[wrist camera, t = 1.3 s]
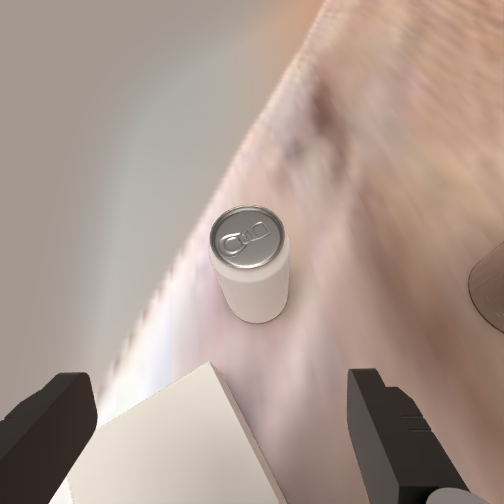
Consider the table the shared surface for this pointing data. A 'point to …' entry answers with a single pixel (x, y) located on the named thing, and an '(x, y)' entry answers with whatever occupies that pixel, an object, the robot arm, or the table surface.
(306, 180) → the table surface
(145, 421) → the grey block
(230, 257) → the can
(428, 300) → the table surface
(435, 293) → the table surface
